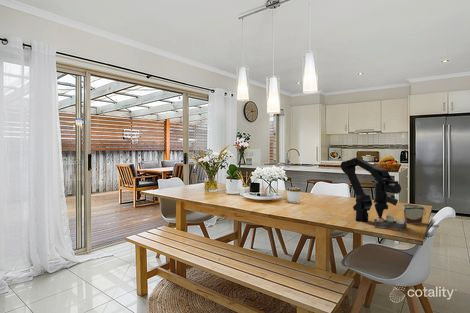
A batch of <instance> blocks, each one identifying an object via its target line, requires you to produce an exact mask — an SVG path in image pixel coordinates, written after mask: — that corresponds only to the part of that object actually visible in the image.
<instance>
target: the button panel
mask: <svg viewBox="0 0 470 313" xmlns="http://www.w3.org/2000/svg"><path fill="white" fill-rule="evenodd" d="M374 228H375V229H386V230H394V231H395V230H396V231H404V232H408V223H407V224H406V223H405V221H404V224H397V223H396V220H394V223H388V222H386V219H384V222H377V218H374Z"/></svg>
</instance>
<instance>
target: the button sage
mask: <svg viewBox="0 0 470 313" xmlns="http://www.w3.org/2000/svg"><path fill="white" fill-rule="evenodd" d="M385 220H386V222H388V223H394V221H395V216H393V215H386V219H385Z"/></svg>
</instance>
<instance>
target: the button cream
mask: <svg viewBox="0 0 470 313" xmlns="http://www.w3.org/2000/svg"><path fill="white" fill-rule="evenodd" d="M395 221H396V223H397V224H404V222H405V220H404V219H399V218H397V219H396V220H395Z"/></svg>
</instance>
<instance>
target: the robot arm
mask: <svg viewBox="0 0 470 313" xmlns="http://www.w3.org/2000/svg"><path fill="white" fill-rule="evenodd" d="M339 167H340V169H341V171H342V172H343V173H344V174H345V175H346V176H347V178H348V180H349V183H350V185H351V186H352V189H353V192H354V194H355V204H354V205H353V206H352V209H353V211H354V212H355V221H356V222H365V223H368V221H369V212H368V211H371V209H372V207H373V206H374V208H375V211H376V214H377V216H378V217H379V218H383V214H384V211H385V210H389V204H392V205H393V206H397V204H398V202H399V200H398V199H397V198H396V197H395V194H396V195H399V194H400V192H401V191H402V186H401V184H400V183H399V180H393V178H392V177H391V175H390V173H389V170H388V169H386V168H384V167H379V166H376V165H373V164H372V163H370V162H368V161H366V160H364V159H362V158H361V157H353V158H351V159H348V160H345V161H341V163H340V166H339ZM356 167H358V168H359V167H360V168H361V169H363V170H364V171H367V172H368V173H370V175H371V177H372V178H374V179H373V180H372V181H371V183H375V184H374V199H373V200H372V197H371V196H370V194H366V193H365V192H364V189H363V187H362V185H361V183H360V180H359V178H358V176H357V174H356V170H357V168H356ZM387 193H389V194H391V195H388V194H387ZM392 194H394V195H392ZM388 203H389V204H388ZM373 204H374V205H373ZM378 217H377V218H378Z"/></svg>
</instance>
